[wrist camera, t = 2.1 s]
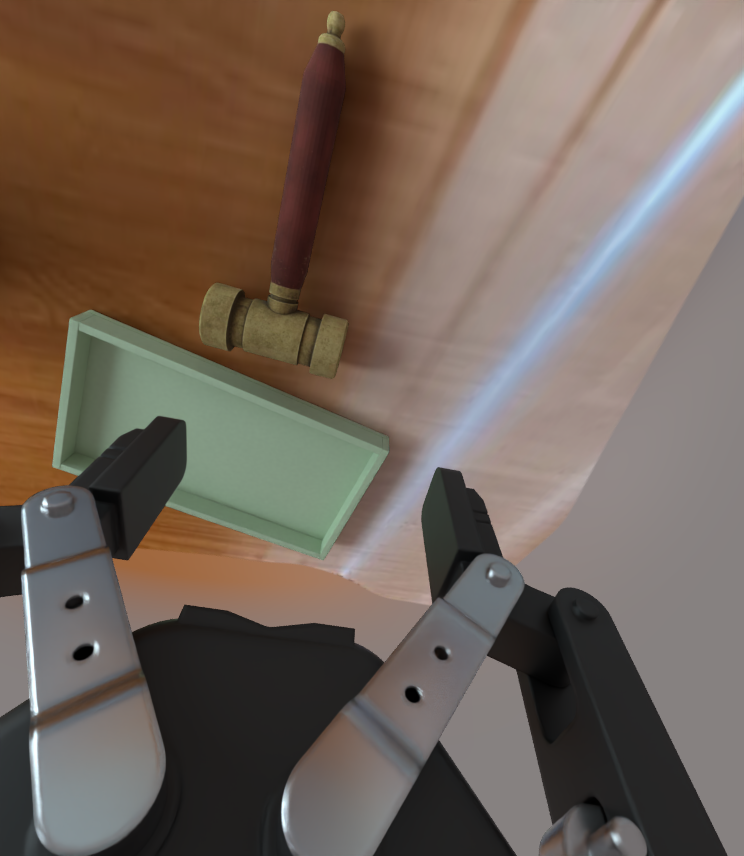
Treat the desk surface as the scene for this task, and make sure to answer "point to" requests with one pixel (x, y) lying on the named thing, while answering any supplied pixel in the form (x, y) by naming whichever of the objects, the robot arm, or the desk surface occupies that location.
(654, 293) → the desk surface
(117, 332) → the tray
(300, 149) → the gavel
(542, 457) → the desk surface
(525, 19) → the desk surface
